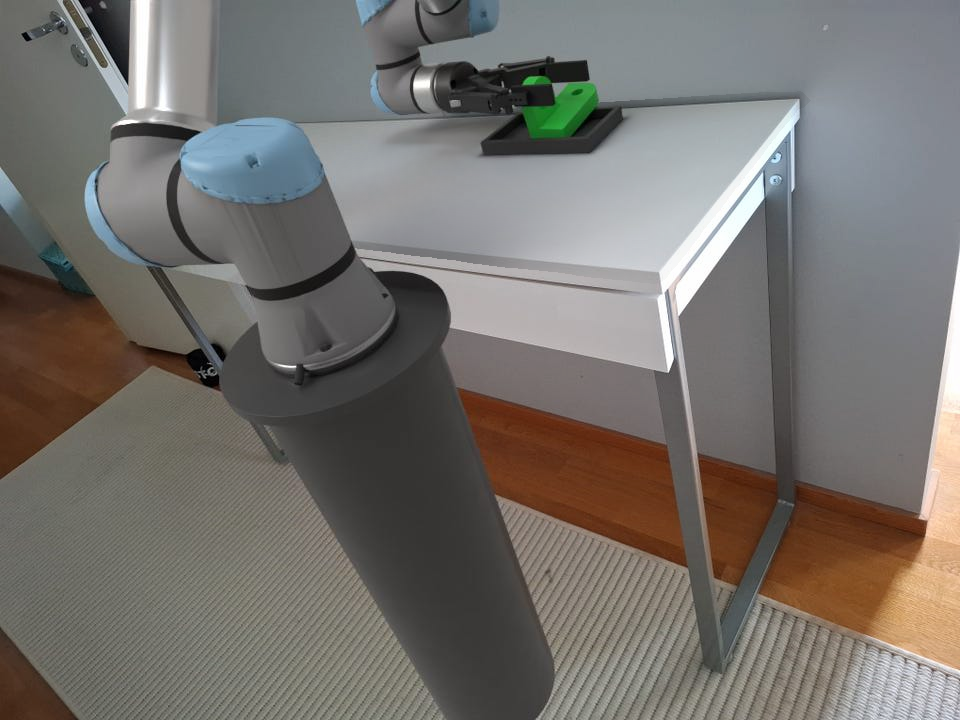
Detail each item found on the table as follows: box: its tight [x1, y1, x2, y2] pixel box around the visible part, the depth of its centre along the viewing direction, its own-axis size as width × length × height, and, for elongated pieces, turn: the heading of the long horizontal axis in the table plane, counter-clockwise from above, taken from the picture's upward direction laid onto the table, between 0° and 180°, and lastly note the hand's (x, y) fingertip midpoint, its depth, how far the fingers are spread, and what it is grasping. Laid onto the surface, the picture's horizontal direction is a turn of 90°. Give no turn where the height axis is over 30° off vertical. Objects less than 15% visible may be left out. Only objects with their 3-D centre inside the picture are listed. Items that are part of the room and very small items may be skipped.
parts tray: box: [480, 105, 624, 156], centre depth 98 cm, size 12×18×2 cm, turn 58°
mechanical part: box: [520, 76, 600, 138], centre depth 96 cm, size 12×6×8 cm, turn 142°
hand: (570, 82), depth 91 cm, fingers open, 8 cm apart
